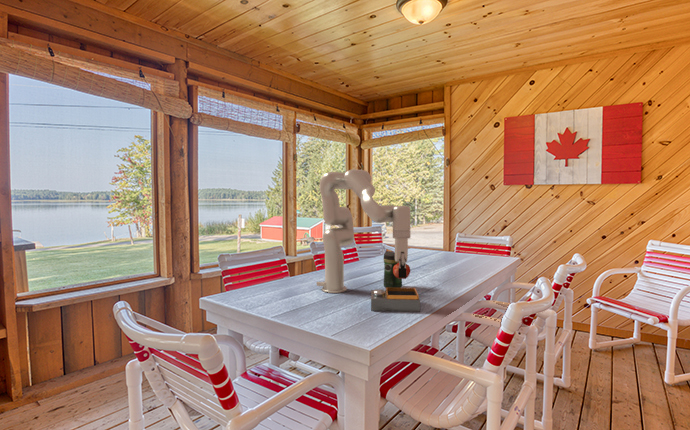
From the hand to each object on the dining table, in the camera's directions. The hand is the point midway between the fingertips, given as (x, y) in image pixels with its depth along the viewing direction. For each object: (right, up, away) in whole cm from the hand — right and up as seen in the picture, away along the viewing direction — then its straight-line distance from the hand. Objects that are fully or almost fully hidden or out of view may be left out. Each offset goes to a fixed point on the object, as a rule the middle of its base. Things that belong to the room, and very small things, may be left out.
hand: (401, 275), depth 149 cm
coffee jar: (+1, -12, +34) cm, 36 cm away
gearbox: (-3, -13, +1) cm, 14 cm away
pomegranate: (0, -2, 0) cm, 2 cm away
